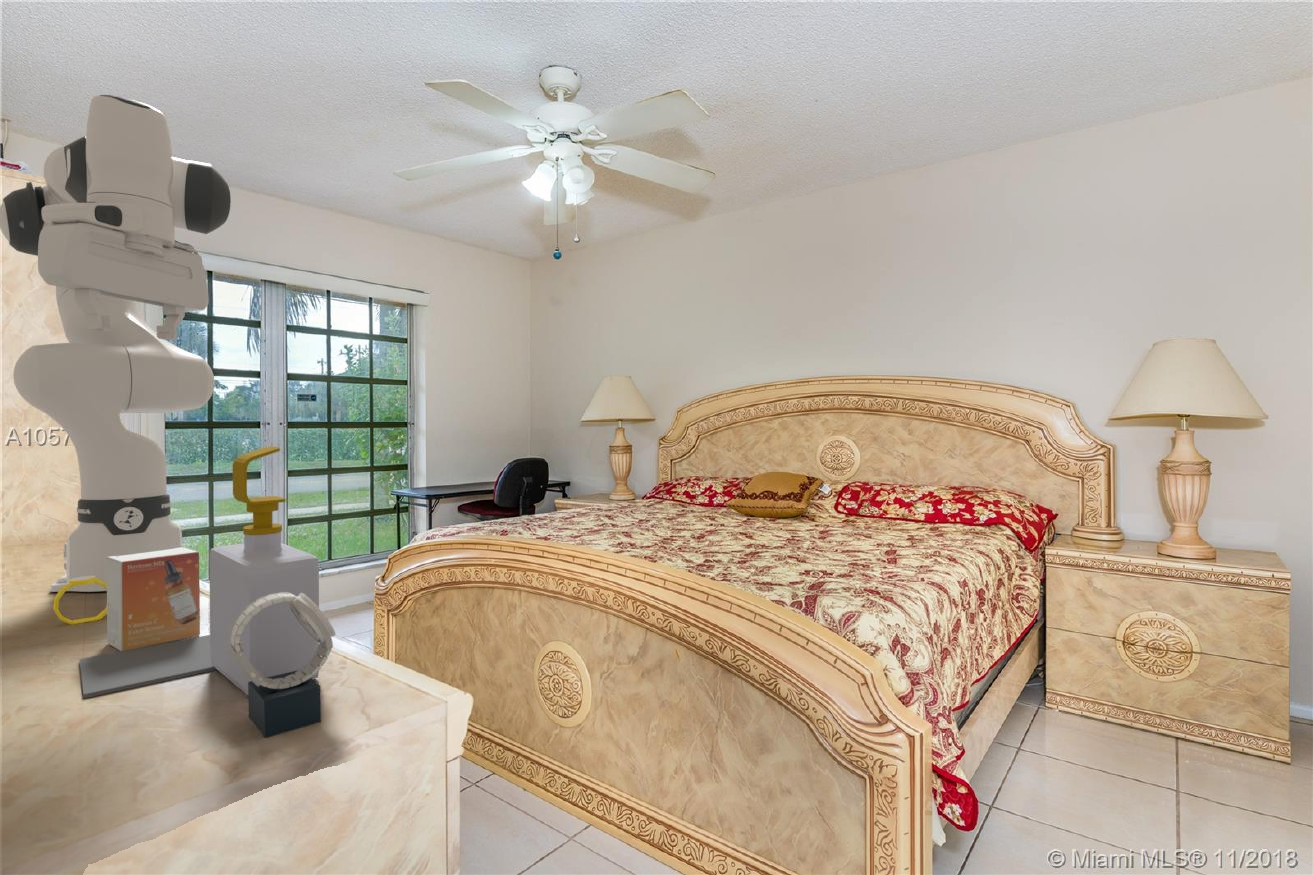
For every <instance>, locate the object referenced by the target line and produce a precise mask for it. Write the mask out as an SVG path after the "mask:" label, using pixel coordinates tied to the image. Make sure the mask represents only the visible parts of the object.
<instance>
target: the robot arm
mask: <svg viewBox="0 0 1313 875" xmlns="http://www.w3.org/2000/svg"><path fill="white" fill-rule="evenodd" d="M87 116H88V117H87V122H86V123H87V124H86V132H85V134H86V136H82V137H79V138H78V139H77V138H76V140H74V141H73V142H70V143H67V144H62V145H61V146H59V147H57V148H55V149H54V150H53V151H51V152H50V153H49V155H48V156H47V158H46V159H45V162H44V164H43V177H44V181H45V183H46V185H44V186H40V185H39V186H34V185H33V182H32V181H29V182H26V187H24V188H20V189H15V190H13V191H11V192H10V193H9V194H7V195H5V197H3V198H2V203H1V204H0V231H1V233H2V235H3V236H4V237H5V238H6V240H7V241H8V243H9V245H10V246H11V248H13V249H14V250H15V251H17V252H19V253H23V254H28V255H32V256H37V267H38V268H37V270H38V274H39V276H40V277H41V278H42V280H43V281H44V282H45V284H46V285H48V286H55V298H56V299H55V300H56V303H57V308H58V313H59V315H60V320H61V323H62V324H61V325H62V327H63V331H64V335H65V338H66V339H67V341H68V342H61V343H58V342H57V343H49V344H48V343H47V344H36V345H32V346H30V347H29V348H28V349H26V350H25V351H24V352H23V353H22V354H21V355H20V356H19V357H18V359H17V361H16V362H15V365H14V367H13V374H12V375H13V377H12V378H13V382H14V386H15V388H16V391H17V393H19V395H20V397H21V398H22V399H23V400H24V401H25V402H27V403H28V404H29V405H30V406H32V407H34V408H35V409H37V410H39V411H41V412H42V413H44V414H46V415H47V416H48V417H50V418H51V419H52V420H54V421H55V422H56V423H57V424H58V425H59V426H60V427H61V428H62V429H63V430H64V431H65V433H66V434H67V436H68V437H69V439H70V440H71V443H72V444H73V447H74V449H75V453H76V457H77V463H78V469H79V470H78V471H79V478H80V479H79V480H80V498H79V499H78V500H77V507H76V513H77V521H78V522H79V525H78V526H77V528H76V529H75V530H74V531H72V532H71V533H70V534H69V536H67V537H66V542H64V545H63V559H64V560H66V561H64V564H63V566H64V567H63V568H64V570H65V571H66V573H65V574H64V575H62V576H60V578H58V579H57V580H56V581H54V582H52V584H50V587H49V592H51V593H52V592H53V593H54V592H57V593H58V592H59V591H60V589H61V588H62V587H64V586H65V585H67V584H69V580H70V579H73V578H76V577H82V576H92V575H93V576H96V577H97V580H100V581H103V582H105V583H106V584H107V566H106V563H107V562H106V560H107V557H110V556H123V555H131V554H138V553H146V552H153V551H161V550H168V549H174V548H180V547H183V546H184V545H183V531H182V527H181V526H180V525H178V524H177V523H175V522H173V520H172V519H171V517H169V516H170V515H171V506H172V504H171V503H172V501H171V496H170V494H168V493H167V458H166V456H167V454H166V453H165V450H164V449H163V447H162V446H161V445H160V444H159V443H158V442H156V441H155V440H154V439H151V438H149V437H147V436H144V435H142V434H139V433H137V432H134V431H131V430H129V429H127V428H126V427H125V426H124V425H123V422H122V420H121V417H120V416H121V414H124V413H125V414H172V413H179V412H186V411H193V410H197V409H200V408H203V407H204V406H205V405H206V404H207V403H208V401H210V399H211V398H212V395H213V393H214V390H215V376H214V372H213V370H212V368H211V367H210V365H209V363H208V362H207V361H206V360H205V359H204V358H203V357H202V356H200V355H198V354H194V353H191V352H190V351H187V350H184V349H183V348H181V347H178V346H176V345H175V344H173V343H171V342H170V341H176V340H177V339H178V328H179V326H180V324H181V323H182V321H183V319H184V318H185V316H186V312H197V311H205V309H207V307H208V305H209V302H210V300H209V290H208V289H209V288H208V281H207V275H206V271H205V267H204V265H203V264H204V263H203V257H202V256H201V254H199V253H198V251H197V250H196V249H195V247H194V246H193V245H191V244H189V243H184V242H180V241H177V240H175V228H177V229H178V228H180V229H185V230H187V231H190V232H196V233H198V234H199V233H200V234H204V235H208V234H210V233H211V232H214V231H216V230H218V229H219V228H220V227H222V226H223V225H224V224H225V223H226V222H227V221H228V218H229V215H230V211H231V201H232V200H231V198H232V196H231V190H230V187H229V184H228V182H227V181H226V180H225V179H224V178H223V176H222V175H221V174H220V172H218V170H217V169H216V168H215V167H214V166H213V165H212V164H211V163H206V162H201V161H195V160H186V159H181V158H178V157H173V151H172V141H171V137H170V136H171V135H170V130H169V127H168V122H167V118H166V116H165V114H163V112H161V111H160V110H158V109H157V108H155V107H154V106H151V105H149V104H147V103H144V102H140V101H137V100H135V99H130V98H128V97H127V98H126V97H123V96H118V95H117V96H116V95H111V94H100V95H95V96H92V98H91V101H90V104H89V110H88V115H87ZM138 303H142V304H143V303H144V304H148V305H154V306H159V307H162V314H163V316H165V319H164V321H163V323H162V325H156V331H155V330H153V329H152V327H150V326H149V325H148V324H147V322H146V319H145V318H144V315H143V313H142V312H141V308H140V306H139V304H138ZM65 592H81V593H82V592H84V593H86V592H87V593H90V592H107V590H106V588H105V587H104V586H103V585H100V584H97V583H90V584H86V585H78V586H73V587H71V588H70V589H68V590H66V591H65Z"/></svg>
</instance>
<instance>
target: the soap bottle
mask: <svg viewBox="0 0 1313 875" xmlns="http://www.w3.org/2000/svg"><path fill="white" fill-rule="evenodd" d="M280 451H281V448H280V447H279V446H278V447H277V446H273V445H270V446H264V447H262V448H261V447H260V448H258V449H255V450H252V451H249V452H248V451H247V452H246V453H243V454H240V455H239V456H237V457H235V459H234V460H233V463H232V495H233V498H234V499H235V500H237V501H238V502H241V503H243V504H246V512H247V513H252V524H249V525H245V526H243V527H242V534H243V536H244V537H243V539H244V540H243V542H244V543H238V544H237V543H236V544H228V545H220V546H215V547H213V548H210V550H209V556H208V557H209V562H208V563H209V566H208V567H209V635H210V660H211V662H212V665H213V666H214V667H215V668H216V669H217V671H218V672H220V673H221V675H223V676H224V677H226V679H228V680H229V681H230V682H231V683H232V684H234V685H235V686H236V687H237V688H239V689H240V690H241V691H242V692H243V694H245V695H246V696H248V682H251V680H250V679H249V678H248V676H247V675H246V674H245V673H244V672H243V671H242V670H241V669H240V667H239V666H238V665H237V663H236V661H235V660H234V658H233V656H232V654H231V651H230V649H229V646H231V644H230V633H231V630H232V627H233V624H234V622H235V620H236V619H237V617H238V616H239V615H240V613H241V612H242V611H243V610H245V608H246V607H247V606H248V605H250V604H251V603H252V602H255V601H256V600H257V599H259V598H261V597H264V596H265V597H266V595H269V594H274V593H281V592H288V593H291V594H293V595H295V596H299V594H300V593H304V594H306V596H308V597H309V598H310V599H311V600H312V601H313V602H314V603H315V604H316V605H317V607H318V608H319V609H320V596H319V595H320V566H319V565H320V563H319V558H318V557H317V556H316V555H314V554H311V553H308V552H306V551H303V550H302V549H298V548H296V547H293V546H290V545H287V544H286V543H282V531H283V525H282V524H280V523H273V512H276V511H279V503H284V502H285V503H286V499H287V498H285V497H281V496H278V495H277V496H276V495H269V496H257V497H248V482H247V481H248V480H247V479H248V476H247V475H248V474H247V473H248V466H249V464H250V463H251V462H252V461H253V462H254V460H258V459H260V458H263V457H266V456H269V455H272V454H274V453H275V454H276V453H278V452H280ZM237 620H238V619H237ZM240 640H241V641H242V642H243V648H244V651H245V653H246V655H247V657H248V659H249V661H250V663H251V665H252V666H253V668H254V669H255V670H259V671H261V672H262V674H263V678H267V677H272V676H276V675H280V674H284V673H288V672H293V671H297V670H300V669H301V668H304V666H305V665H306V664H307V663H308V662H309V661H310V660H313V659H312V657H313V656H314V654H315V653H316V651H317V650H318V646H319V643H317V641H316V640H315V639H314V638H313V637H312V636H311V635H310V634H309V633H308V632H307V631H306V630H305V628H304V627H303V626H302V625H301V623H300V622H299V621H298V620H297V618H296V617H295V615H294V614H293V612H292V611H291V609H290V601H283V602H279V603H275V604H274V603H272V605H270V606H268V607H266V608H262V610H261V611H259V612H258V613H257V614H256V615H254V616H252V618H251V619H250V620H249V622H248V623H247V624H246V625H245V627H244V629H243V631H242V634H241V635H240ZM313 666H314V665H313ZM314 667H315V666H314ZM304 669H305V668H304ZM319 672H320V670H319V671H318V672H317V673H316V674H315V675H312V677H311V678H312V679H313V680H314V681H315V679H317V678H319V674H320V673H319Z"/></svg>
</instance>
